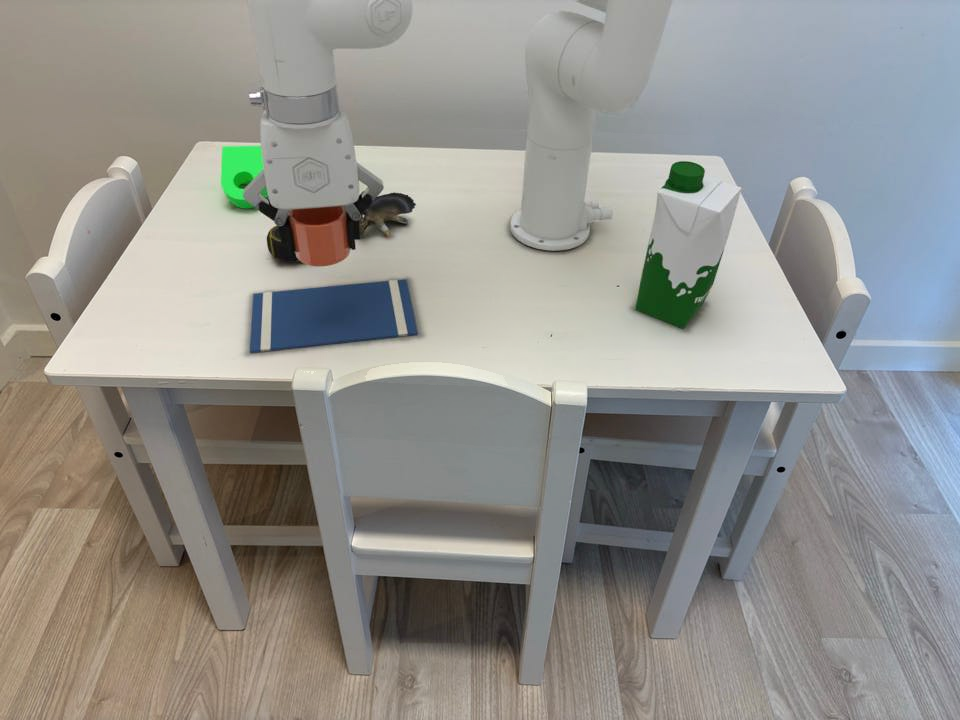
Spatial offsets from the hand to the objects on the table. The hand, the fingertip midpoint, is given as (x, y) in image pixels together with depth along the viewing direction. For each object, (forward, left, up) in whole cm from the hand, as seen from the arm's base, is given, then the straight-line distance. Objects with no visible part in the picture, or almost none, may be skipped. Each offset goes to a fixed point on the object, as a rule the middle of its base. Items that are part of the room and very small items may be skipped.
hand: (322, 245), depth 84 cm
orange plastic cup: (0, 0, -1) cm, 1 cm away
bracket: (+5, -34, -11) cm, 36 cm away
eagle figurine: (-9, -20, -11) cm, 25 cm away
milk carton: (-46, +6, -11) cm, 47 cm away
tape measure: (+4, -16, -11) cm, 20 cm away
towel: (0, 0, -11) cm, 11 cm away
